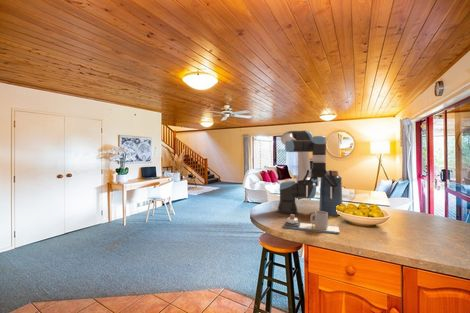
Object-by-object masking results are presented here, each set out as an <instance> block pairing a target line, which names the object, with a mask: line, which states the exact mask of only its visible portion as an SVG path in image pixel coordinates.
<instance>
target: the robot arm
mask: <svg viewBox="0 0 470 313" xmlns="http://www.w3.org/2000/svg"><path fill="white" fill-rule="evenodd" d="M280 142H281V143H282V145H284V150H285V152H288V153H297V159H298V161H297V163H298V178H299V179H298V180H297V182H296V181H295V180H288V181H287V180H286V181H282V182H280V183H279V203H278V205H277V212H278V213H280V214H284V215H291V214H294V215H295V214H298V213H299V212H298V211H299V210H298V206H297V203H296V199H313V198H315V196H316V192H317V184H316V183H315V182H314V178H316V179H317V178H322V177H324V178H325V179H326V181H327V182H328V183H329V184H330V185H331V186H332V187H330V198H331V199H332V193H334V187H337V186H338V185H337V183H336V181H335V179H334V177H333V175H332V172H331V171H332V170H331V169H330V170H327V169H326V168H327V167H326V165H327V163H326V161H327V138H326V136H325V135H313V134H312V132H311V131H309V130H290V131H286V132H284V133H282V135H281V137H280ZM310 153H312V154H311V155H312V156H311V157H310ZM310 158H312V164H311V160H310ZM311 166H312V168H311ZM326 173H328V174H330V176H331V178H332V180H333V182H334V185H333V184H332V183H331V181H330V180H329V179H328V178H327V177H326V176H325V174H326ZM311 174H312V176H311Z"/></svg>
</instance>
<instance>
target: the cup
mask: <svg viewBox="0 0 470 313" xmlns="http://www.w3.org/2000/svg"><path fill="white" fill-rule="evenodd" d="M328 221H329V215H328V213H327V212H324V211H319V210H315V211H314V213H313V212H312V213H311V214H310V224H315V227H316V228H317V229H327V228H328V225H329V224H328Z"/></svg>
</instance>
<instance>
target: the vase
mask: <svg viewBox="0 0 470 313" xmlns="http://www.w3.org/2000/svg"><path fill="white" fill-rule="evenodd" d="M331 172H332V175H333V177H334V179H335V181H336V183H337V185H338V186H337V187H334V193H332V199H331V198H330V187H332V186H331V185H330V184H329V183H328V182H327V181H326V179H325V178H324V177H322V178H320V180H319V182H320V184H319V205H318V206H319V207H318V208H319V209H318V211H324V212H327V213H328V216H329V217H330V216H332V217H333V216H334V217H335V216H337V217H339V216H338V214H337V212H336V206H337V205H340V204H343V191H342V190H343V187H342V186H343V184H342V177H341V175H339V171H338V170H331ZM325 176H326V177H327V178H328V179H329V180H330V181H331V183H332V184H333V185H334V182H333V180H332V178H331V176H330V174H328V173H326V174H325Z"/></svg>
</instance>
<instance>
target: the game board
mask: <svg viewBox="0 0 470 313" xmlns="http://www.w3.org/2000/svg"><path fill="white" fill-rule="evenodd" d="M283 229H289V230H290V229H291V230H299V231H307V232H308V231H309V232H315V233H316V232H317V233H323V232H324V233H326V234H333V235H339V233H340V228H339V226H336V225H329V224H328V228H327V229H317V228H316V227H315V224H312V223H311V222H310V223H308V222H301V221H299V220H298V223H295V224H292V223H288V222H287V220H286V221H285V223H284V225H283ZM324 233H323V234H324Z"/></svg>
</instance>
